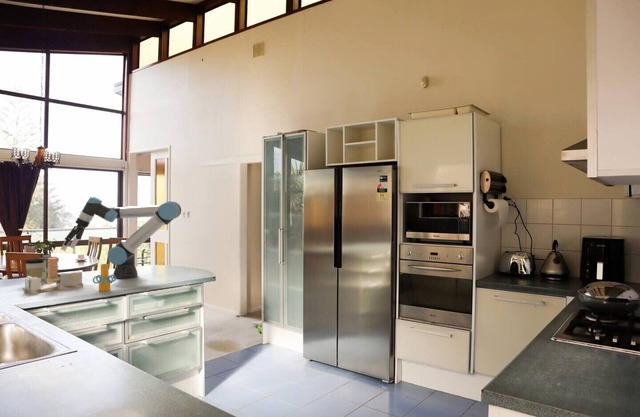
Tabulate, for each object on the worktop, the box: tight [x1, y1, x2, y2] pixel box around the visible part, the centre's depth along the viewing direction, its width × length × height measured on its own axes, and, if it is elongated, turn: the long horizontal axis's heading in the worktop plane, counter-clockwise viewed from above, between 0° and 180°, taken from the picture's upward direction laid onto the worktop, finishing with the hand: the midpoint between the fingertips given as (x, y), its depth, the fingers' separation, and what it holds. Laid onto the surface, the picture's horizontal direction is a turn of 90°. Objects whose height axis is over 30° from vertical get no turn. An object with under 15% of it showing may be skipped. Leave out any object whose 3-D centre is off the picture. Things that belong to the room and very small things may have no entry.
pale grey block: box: [55, 270, 83, 287], centre depth 260 cm, size 12×6×7 cm, turn 140°
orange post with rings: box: [92, 263, 117, 292], centre depth 252 cm, size 12×10×15 cm
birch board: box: [23, 283, 84, 295], centre depth 254 cm, size 28×9×2 cm, turn 140°
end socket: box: [24, 275, 42, 291], centre depth 246 cm, size 6×6×7 cm
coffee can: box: [37, 256, 58, 282], centre depth 286 cm, size 10×10×14 cm
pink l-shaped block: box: [45, 257, 60, 284], centre depth 258 cm, size 16×3×14 cm, turn 140°
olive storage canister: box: [24, 258, 44, 278], centre depth 269 cm, size 10×10×15 cm
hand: (67, 248), depth 280 cm, fingers open, 13 cm apart
